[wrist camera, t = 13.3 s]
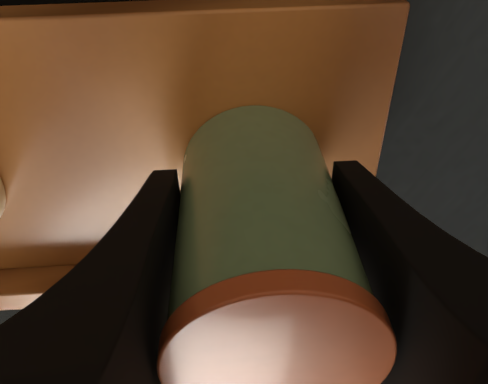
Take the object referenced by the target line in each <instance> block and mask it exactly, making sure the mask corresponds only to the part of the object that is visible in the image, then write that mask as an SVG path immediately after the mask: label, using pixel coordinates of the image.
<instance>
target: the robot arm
mask: <svg viewBox="0 0 488 384" xmlns="http://www.w3.org/2000/svg"><path fill="white" fill-rule="evenodd" d="M332 182H333V184H334V187H335V190H336V193H337V195H338V198H339V201H340V203H341V206H342V209H343V212H344V214H345V217H346V220H347V222H348V225H349V228H350V231H351V233H352V236H353V239H354V242H355V244H356V247H357V250H358V252H359V255H360V258H361V261H362V263H363V266H364V269H365V272H366V274H367V277H368V280H369V282H370V285H371V288H372V291H373V293H374V296H375V298H376V299H377V300H378V301H379V302H380V303H381V305H382V306H383V307H384V309H385V311H386V313H387V315H388V317H389V320H390V323H391V325H392V328H393V331H394V333H395V337H396V341H397V355H396V359H395V363H394V365H393V367H392V370H391V371H390V373H389V374H388V376H387V377H386V379H385V380H384V381H383V382H382V383H381V384H488V257H486V256H484V255H483V254H481V253H479V252H477V251H476V250H474V249H472V248H471V247H469V246H467V245H466V244H464V243H462V242H461V241H459V240H458V239H456V238H454V237H453V236H451V235H450V234H448V233H447V232H445V231H444V230H442V229H441V228H439V227H438V226H436V225H435V224H434V223H432V222H431V221H429V220H428V219H427V218H425V217H424V216H423V215H421V214H420V213H419V212H417V211H416V210H415V209H413V208H412V207H411V206H410V205H408V204H407V203H406V202H405V201H403V200H402V199H401V198H400V197H398V196H397V195H396V194H395V193H394V192H392V191H391V190H390V189H389V188H388V187H387V186H385V185H384V184H383V183H382V182H381V181H380V180H379V179H377V178H376V177H375V176H374V175H373V174H372V173H371V172H370V171H368V170H367V169H366V168H365V167H364V166H363V165H361V164H360V163H359V162H358V161H357V160H352V161H334V163H333V171H332ZM179 199H180V188H179V181H178V174H177V169H169V170H154V171H153V172H152V173H151V174H150V175H149V177H148V178H147V180H146V181H145V183H144V184H143V186H142V187H141V189H140V190H139V192H138V193H137V194H136V196H135V197H134V199H133V200H132V201H131V203H130V204H129V205H128V207H127V208H126V209H125V211H124V212H123V213H122V215H121V216H120V217H119V219H118V220H117V221H116V222H115V224H114V225H113V226H112V227H111V228H110V229H109V231H108V232H107V233H106V234H105V235H104V236H103V237H102V239H101V240H100V241H99V242H98V243H97V244H96V245H95V246H94V248H93V249H92V250H91V251H90V252H89V253H88V254H87V255H86V256H85V257H84V258H83V259H82V260H81V261H80V262H79V263H78V264H77V265H76V266H75V267H74V268H73V269H71V270H70V271H69V272H68V273H67V274H66V275H65V276H64V277H62V278H61V279H60V280H59V281H58V282H56V283H55V284H54V285H53V286H51V287H50V288H49V289H48V290H47V291H45V292H44V293H43V294H42V295H41V296H39V297H38V298H37V299H36V300H34V301H33V302H32V303H30V304H29V305H27V306H26V307H25V308H23V309H22V310H21V311H19V312H18V313H17V314H15V315H14V316H12V317H11V318H9V319H8V320H6V321H5V322H4V323H2V324H1V325H0V384H161V382H160V380H159V377H158V373H157V356H158V347H159V339H160V335H161V332H162V329H163V327H164V325H165V324H166V322H167V315H168V306H169V296H170V286H171V277H172V267H173V257H174V248H175V238H176V228H177V218H178V209H179Z"/></svg>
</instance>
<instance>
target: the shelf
mask: <svg viewBox="0 0 488 384" xmlns="http://www.w3.org/2000/svg"><path fill="white" fill-rule="evenodd" d="M409 8H410V3H409V2H408V1H406V0H149V1H122V2H95V3H67V4H40V5H13V6H0V178H1V180H2V183H3V186H4V190H5V196H6V203H5V209H4V211H3V214H2V216H1V217H0V310H16V309H23V308H25V307H26V306H27V305H29V304H30V303H32V302H33V301H34V300H36V299H37V298H38V297H39V296H41V295H42V294H43V293H44V292H45V291H47V290H48V289H49V288H50V287H51V286H53V285H54V284H55V283H56V282H58V281H59V280H60V279H61V278H62V277H64V276H65V275H66V274H67V273H68V272H69V271H70V270H71V269H73V268H74V267H75V266H76V265H77V264H78V263H79V262H80V261H81V260H82V259H83V258H84V257H85V256H86V255H87V254H88V253H89V252H90V251H91V250H92V249H93V248H94V246H95V245H96V244H97V243H98V242H99V241H100V240H101V239H102V237H103V236H104V235H105V234H106V233H107V232H108V231H109V229H110V228H111V227H112V226H113V225H114V224H115V222H116V221H117V220H118V219H119V217H120V216H121V215H122V213H123V212H124V211H125V209H126V208H127V207H128V205H129V204H130V203H131V201H132V200H133V199H134V197H135V196H136V194H137V193H138V192H139V190H140V189H141V187H142V186H143V184H144V183H145V181H146V180H147V178H148V177H149V175H150V174H151V173H152V172H153V171H154V170H169V169H177V174H178V181H179V188H180V189H181V180H182V170H183V161H184V155H185V151H186V148H187V146H188V143H189V141H190V140H191V138H192V137H193V135H194V134H195V133H196V131H197V130H198V129H199V128H200V127H201V126H202V125H203V124H204V123H206V122H207V121H208V120H210V119H211V118H213V117H214V116H216V115H218V114H220V113H222V112H224V111H227V110H230V109H232V108H237V107H241V106H250V105H262V106H269V107H274V108H278V109H281V110H284V111H286V112H288V113H290V114H292V115H294V116H296V117H297V118H299V119H300V120H301V121H303V122H304V123H305V124H306V125H307V126H308V127H309V128H310V130H311V131H312V132H313V134H314V135H315V137H316V139H317V141H318V143H319V146H320V149H321V152H322V154H323V157H324V160H325V163H326V165H327V168H328V171H329V173H330V176H331V179H332V171H333V163H334V161H352V160H357V161H358V162H359V163H360V164H361V165H363V166H364V167H365V168H366V169H367V170H368V171H370V172H371V173H372V174H373V175H374V176H375V177H376V172H377V167H378V163H379V158H380V153H381V148H382V143H383V138H384V133H385V128H386V123H387V118H388V113H389V108H390V103H391V98H392V93H393V88H394V83H395V78H396V73H397V68H398V63H399V58H400V53H401V48H402V43H403V38H404V33H405V28H406V23H407V18H408V13H409Z"/></svg>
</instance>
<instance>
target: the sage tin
mask: <svg viewBox="0 0 488 384" xmlns="http://www.w3.org/2000/svg"><path fill="white" fill-rule="evenodd" d="M396 355H397V341H396V337H395V333H394V331H393V328H392V325H391V323H390V320H389V317H388V315H387V313H386V311H385V309H384V307H383V306H382V305H381V303H380V302H379V301H378V300H377V299H376V298H375V296H374V293H373V291H372V288H371V285H370V282H369V280H368V277H367V274H366V272H365V269H364V266H363V263H362V261H361V258H360V255H359V252H358V250H357V247H356V244H355V242H354V239H353V236H352V233H351V231H350V228H349V225H348V222H347V220H346V217H345V214H344V212H343V209H342V206H341V203H340V201H339V198H338V195H337V193H336V190H335V187H334V184H333V182H332V179H331V176H330V173H329V171H328V168H327V165H326V163H325V160H324V157H323V154H322V152H321V149H320V146H319V143H318V141H317V139H316V137H315V135H314V134H313V132H312V131H311V130H310V128H309V127H308V126H307V125H306V124H305V123H304V122H303V121H301V120H300V119H299V118H297V117H296V116H294V115H292V114H290V113H288V112H286V111H284V110H281V109H278V108H274V107H269V106H262V105H250V106H241V107H237V108H232V109H230V110H227V111H224V112H222V113H220V114H218V115H216V116H214V117H213V118H211V119H210V120H208V121H207V122H206V123H204V124H203V125H202V126H201V127H200V128H199V129H198V130H197V131H196V133H195V134H194V135H193V137H192V138H191V140H190V141H189V143H188V146H187V148H186V151H185V155H184V161H183V170H182V180H181V189H180V199H179V209H178V218H177V228H176V238H175V248H174V257H173V267H172V277H171V286H170V296H169V306H168V315H167V322H166V324H165V325H164V327H163V329H162V332H161V335H160V339H159V347H158V356H157V373H158V377H159V380H160V382H161V384H381V383H382V382H383V381H384V380H385V379H386V377H387V376H388V374H389V373H390V371H391V370H392V367H393V365H394V363H395V359H396Z"/></svg>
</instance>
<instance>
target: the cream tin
mask: <svg viewBox="0 0 488 384" xmlns="http://www.w3.org/2000/svg"><path fill="white" fill-rule="evenodd" d="M5 203H6V196H5V190H4V186H3V183H2V180H1V178H0V217H1V216H2V214H3V211H4V209H5Z"/></svg>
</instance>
